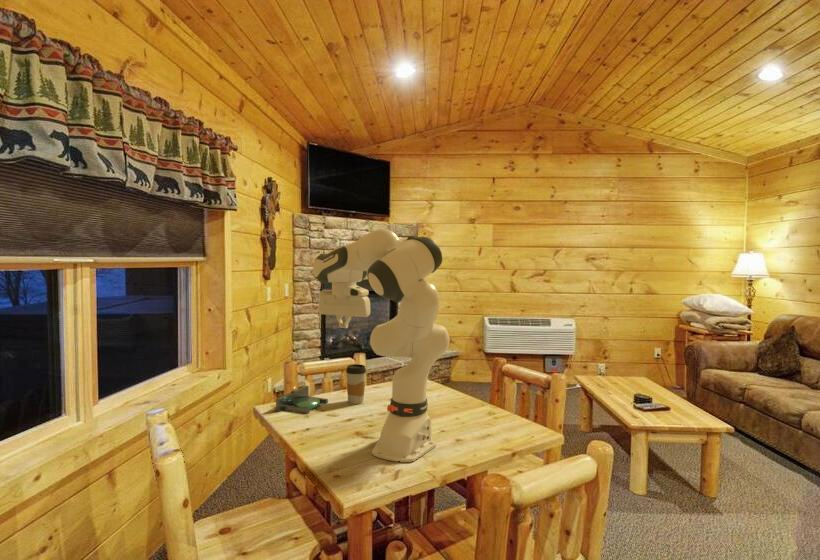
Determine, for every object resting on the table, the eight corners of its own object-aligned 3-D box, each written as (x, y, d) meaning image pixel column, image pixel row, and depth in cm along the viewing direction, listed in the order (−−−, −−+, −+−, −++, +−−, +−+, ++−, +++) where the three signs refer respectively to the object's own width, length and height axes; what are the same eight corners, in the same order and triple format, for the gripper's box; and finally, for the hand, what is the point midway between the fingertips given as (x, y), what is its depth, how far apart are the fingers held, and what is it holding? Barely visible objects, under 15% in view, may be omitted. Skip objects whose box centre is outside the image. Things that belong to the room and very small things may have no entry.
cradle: (303, 415, 170) (303, 397, 170) (275, 411, 175) (275, 393, 175) (331, 400, 189) (331, 384, 189) (305, 397, 194) (305, 381, 193)
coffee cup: (355, 397, 194) (355, 363, 194) (369, 401, 189) (370, 366, 189) (341, 402, 187) (341, 366, 187) (356, 406, 183) (356, 369, 182)
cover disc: (311, 412, 175) (311, 406, 175) (289, 409, 178) (289, 403, 178) (324, 405, 184) (324, 399, 184) (303, 402, 188) (303, 396, 188)
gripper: (315, 289, 167) (314, 326, 167) (364, 291, 159) (364, 330, 160) (324, 288, 173) (323, 324, 173) (372, 290, 165) (372, 328, 166)
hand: (343, 327), depth 167 cm, fingers closed
